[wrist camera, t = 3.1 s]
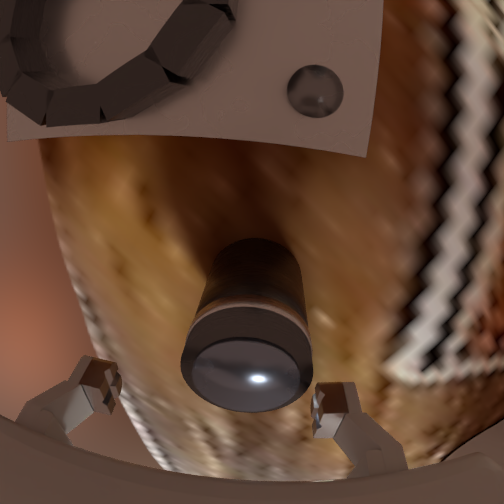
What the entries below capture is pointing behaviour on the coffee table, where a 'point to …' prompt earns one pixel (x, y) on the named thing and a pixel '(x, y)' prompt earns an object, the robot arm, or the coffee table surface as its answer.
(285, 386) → the lens
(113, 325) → the coffee table surface
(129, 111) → the camera body
